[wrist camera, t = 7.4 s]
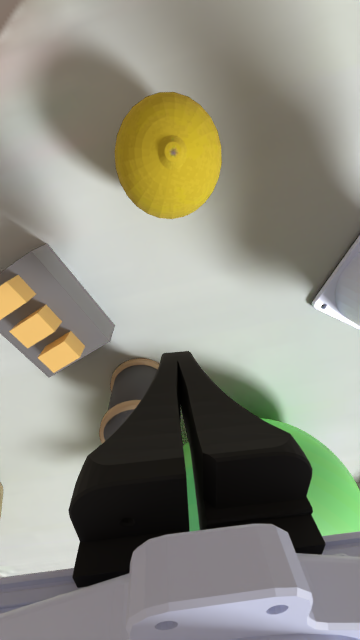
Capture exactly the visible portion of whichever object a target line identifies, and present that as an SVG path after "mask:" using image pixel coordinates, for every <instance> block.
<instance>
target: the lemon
mask: <svg viewBox="0 0 360 640" xmlns="http://www.w3.org/2000/svg"><path fill="white" fill-rule="evenodd" d="M221 163H222V159H221V144H220V140H219V135H218V131H217V129H216V127H215V125H214V123H213V121H212V119H211V117H210V116H209V115H208V113H207V112H206V111H205V110H204V109H203V108H202V106H201V105H199V104H198V103H197V102H195V101H194V100H192V99H191V98H189V97H188V96H184V95H181V94H178V93H175V92H159V93H156V94H154V95H151V96H148V97H145V98H144V99H143V100H141V101H140V102H139V103H137V104H136V105H135V106H133V107H132V109H131V110H130V111H129V113H128V114H127V115H126V117H125V118H124V119H123V122H122V124H121V127H120V129H119V132H118V134H117V139H116V145H115V164H116V170H117V174H118V177H119V180H120V183H121V185H122V187H123V189H124V191H125V192H126V194H127V196H128V197H129V198H130V199H131V200H132V202H133V203H134V204H135V205H136V206H137V207H139V208H140V209H142V210H143V211H144V212H146V213H147V214H150V215H153V216H156V217H158V218H166V219H174V218H179V217H184V216H186V215H188V214H190V213H192V212H194V211H196V210H197V209H198V208H199V207H200V206H201V205H203V204H204V203H205V202H206V200H207V199H208V198H209V196H210V195H211V193H212V192H213V190H214V188H215V185H216V183H217V181H218V178H219V174H220V168H221Z"/></svg>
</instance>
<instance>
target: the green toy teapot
mask: <svg viewBox="0 0 360 640" xmlns="http://www.w3.org/2000/svg"><path fill="white" fill-rule="evenodd" d="M260 419H262V420H264V421H266V422H267V423H269V424H271V425H273V426H276V427H278V428H280V429H282V430H284V431H286V432H288V433H290V434H291V435H292V436H293V438H294V439H295V441H296V442H297V443H298V445H299V446H300V447H301V449H302V450H303V452H304V453H305V455H306V457H307V459H308V460H309V462H310V464H311V467H312V469H313V470H312V478H311V482H310V486H309V489H308V493H307V498H308V500H309V502H310V504H311V506H312V509H313V513H312V514H311V515H312V517H313V519H314V521H315V523H316V525H317V527H318V529H319V531H320V533H321V535H322V536H327V535H335V534H343V533H350V532H358V531H360V490H359V488H358V486H357V484H356V482H355V481H354V479H353V477H352V476H351V474H350V473H349V471H348V470H347V468H346V467H345V466H344V465H343V463H342V462H341V461H340V460H339V459H338V458H337V457H336V456H335V454H334V453H332V452H331V451H330V450H329V449H328V448H327V447H326V446H325V445H323V444H322V443H321V442H320V441H318V440H317V439H315V438H314V437H312V436H311V435H309V434H308V433H306V432H304V431H302V430H300V429H298V428H296V427H294V426H291V425H289V424H286V423H283V422H279V421H276V420H271V419H264V418H260ZM183 451H184V459H185V468H186V478H187V495H188V511H189V528H190V529H189V531H198V530H200V527H199V519H198V510H197V501H196V493H195V484H194V476H193V468H192V459H191V452H190V447H189V442H187V443H186V444H185V445H184V446H183Z"/></svg>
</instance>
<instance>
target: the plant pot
mask: <svg viewBox="0 0 360 640" xmlns="http://www.w3.org/2000/svg"><path fill="white" fill-rule="evenodd" d="M2 499H3V486H2V484H1V483H0V517H1V509H2Z"/></svg>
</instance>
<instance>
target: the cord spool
mask: <svg viewBox="0 0 360 640" xmlns="http://www.w3.org/2000/svg"><path fill="white" fill-rule="evenodd" d="M158 367H159V363H157V362H156V361H153V360H150V359H145V358H136V359H131V360H128V361H126V362H124V363H122V364H121V365H119V366H118V367H117V368H116V370H115V371H114V373H113V375H112V378H111V383H110V388H111V392H112V394H111V398H110V403H109V408H108V411H107V412H106V414H105V415H104V417H103V419H102V421H101V425H100V430H99V436H100V440H101V442H102V444H103V443H104V442H105V441H106V440H107V439H108V438H109V437H110V436H111V435H112V434H113V433H114V432H115V431H116V430H117V429H118V428H119V427H120V426H121V425H122V424H123V423H124V422H125V420H126V419H127V418H128V417H129V416H130V414H131V413H132V412H133V411H134V409H135V408H136V407H137V405H138V404H139V402H140V401H141V400H142V398H143V396H144V395H145V393H146V392H147V390H148V388H149V386H150V384H151V383H152V381H153V379H154V376H155V374H156V372H157V370H158Z"/></svg>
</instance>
